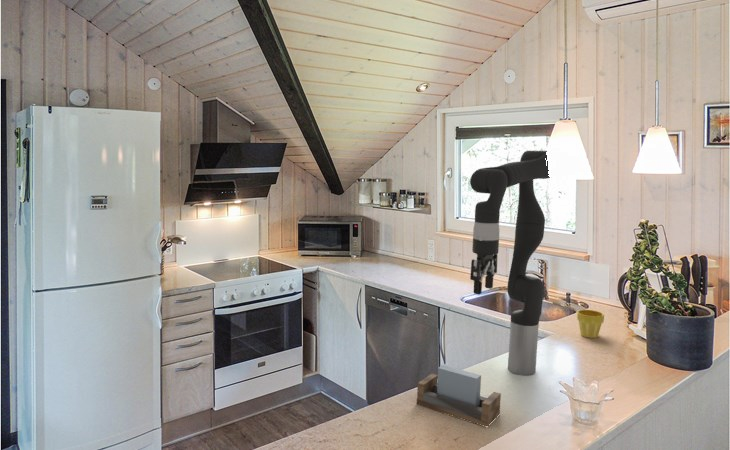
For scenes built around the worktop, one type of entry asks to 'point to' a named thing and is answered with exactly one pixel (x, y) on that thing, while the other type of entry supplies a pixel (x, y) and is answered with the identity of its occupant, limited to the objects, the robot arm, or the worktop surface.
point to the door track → (486, 404)
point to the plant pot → (590, 322)
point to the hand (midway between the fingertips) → (483, 290)
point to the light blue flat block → (459, 385)
